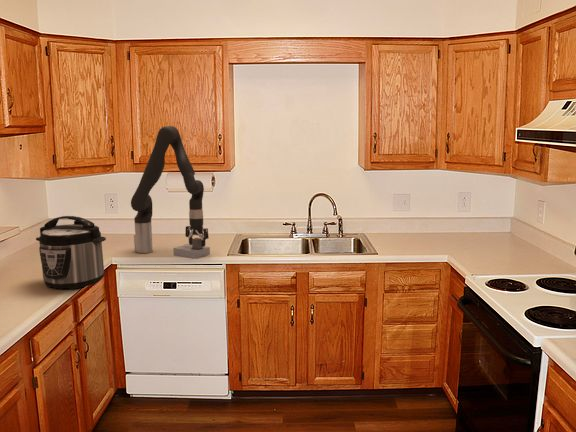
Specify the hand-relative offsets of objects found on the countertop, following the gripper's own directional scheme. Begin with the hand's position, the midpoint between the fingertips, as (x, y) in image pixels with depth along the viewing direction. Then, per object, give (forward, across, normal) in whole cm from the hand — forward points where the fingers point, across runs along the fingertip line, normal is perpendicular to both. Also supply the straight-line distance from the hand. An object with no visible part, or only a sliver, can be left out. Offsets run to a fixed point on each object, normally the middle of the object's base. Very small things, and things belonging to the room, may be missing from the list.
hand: (197, 245), depth 312 cm
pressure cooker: (+6, -20, -68) cm, 71 cm away
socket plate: (+6, -4, 0) cm, 7 cm away
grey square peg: (+4, 0, 0) cm, 4 cm away
